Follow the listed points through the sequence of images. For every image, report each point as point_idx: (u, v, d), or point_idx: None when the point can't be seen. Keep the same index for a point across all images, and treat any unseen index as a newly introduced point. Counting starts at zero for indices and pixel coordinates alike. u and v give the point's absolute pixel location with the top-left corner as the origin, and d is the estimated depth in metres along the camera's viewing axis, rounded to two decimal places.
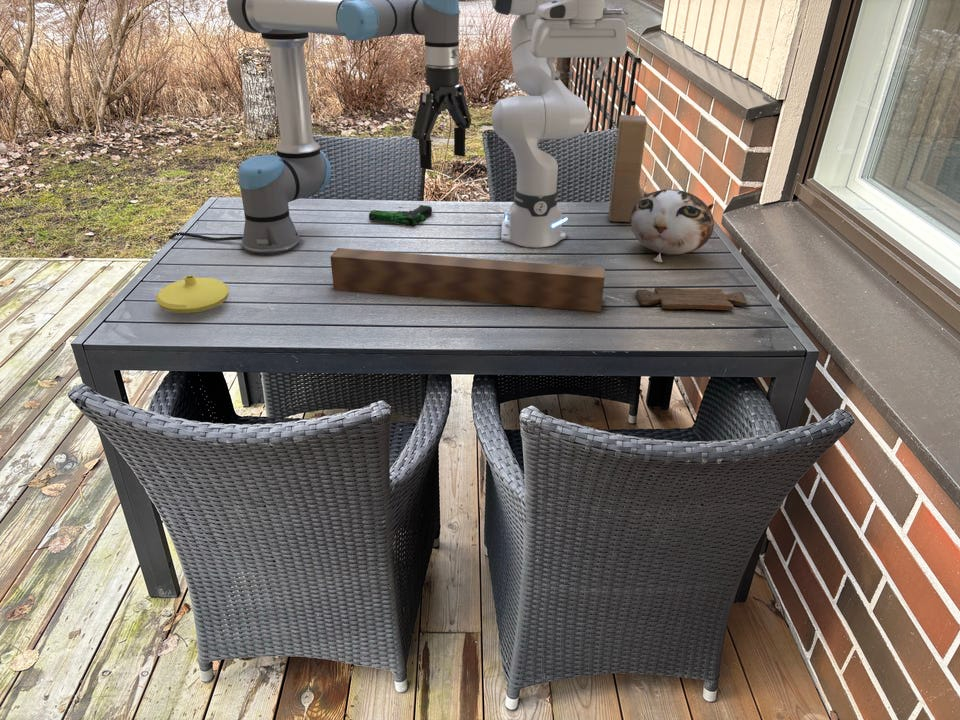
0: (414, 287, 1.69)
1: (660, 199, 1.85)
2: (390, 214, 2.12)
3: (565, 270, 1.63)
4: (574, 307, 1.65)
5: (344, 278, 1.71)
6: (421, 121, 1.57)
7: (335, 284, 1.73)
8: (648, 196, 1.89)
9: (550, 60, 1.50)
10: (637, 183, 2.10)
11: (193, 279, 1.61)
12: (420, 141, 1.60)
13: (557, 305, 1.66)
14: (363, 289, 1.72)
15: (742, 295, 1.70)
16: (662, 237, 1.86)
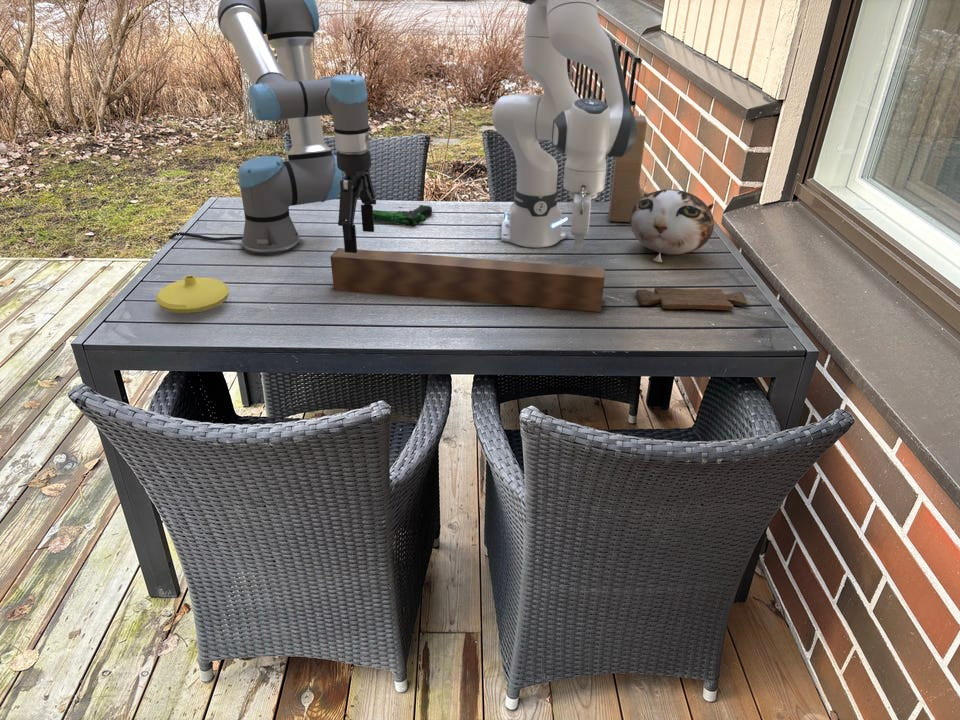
0: (414, 287, 1.69)
1: (660, 199, 1.85)
2: (390, 214, 2.12)
3: (565, 270, 1.63)
4: (574, 307, 1.65)
5: (344, 278, 1.71)
6: (346, 208, 1.56)
7: (335, 284, 1.73)
8: (648, 196, 1.89)
9: None
10: (637, 183, 2.10)
11: (193, 279, 1.61)
12: (345, 227, 1.58)
13: (557, 305, 1.66)
14: (363, 289, 1.72)
15: (742, 295, 1.70)
16: (662, 237, 1.86)
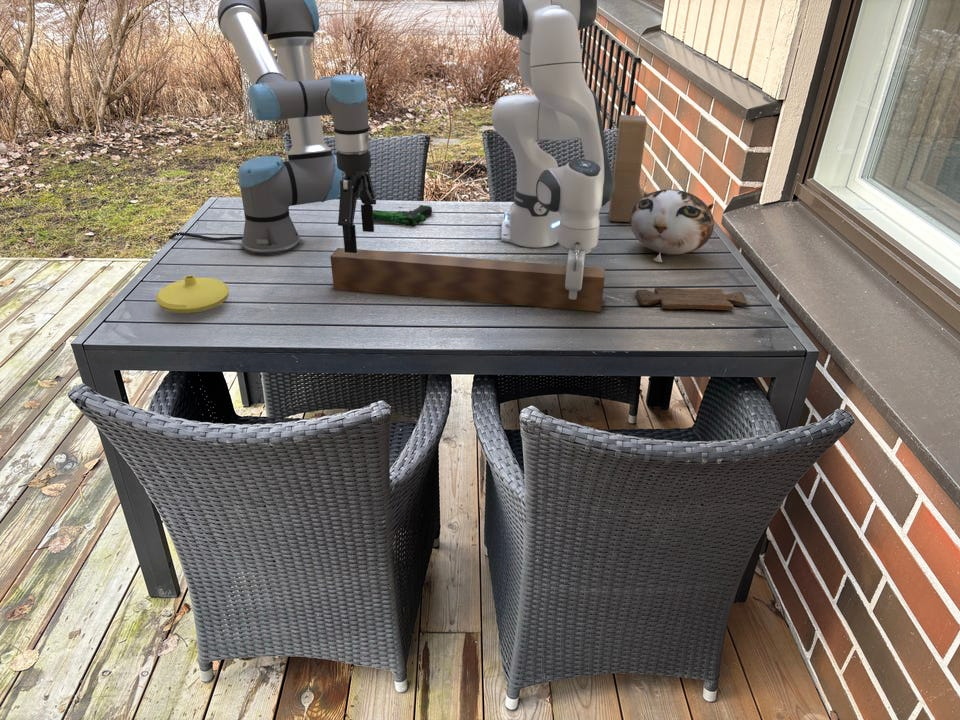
0: (414, 287, 1.69)
1: (660, 199, 1.85)
2: (390, 214, 2.12)
3: (565, 270, 1.63)
4: (574, 307, 1.65)
5: (344, 277, 1.71)
6: (346, 208, 1.56)
7: (335, 284, 1.72)
8: (648, 196, 1.89)
9: None
10: (637, 183, 2.10)
11: (193, 279, 1.61)
12: (345, 227, 1.58)
13: (557, 305, 1.66)
14: (363, 289, 1.72)
15: (742, 295, 1.70)
16: (662, 237, 1.86)
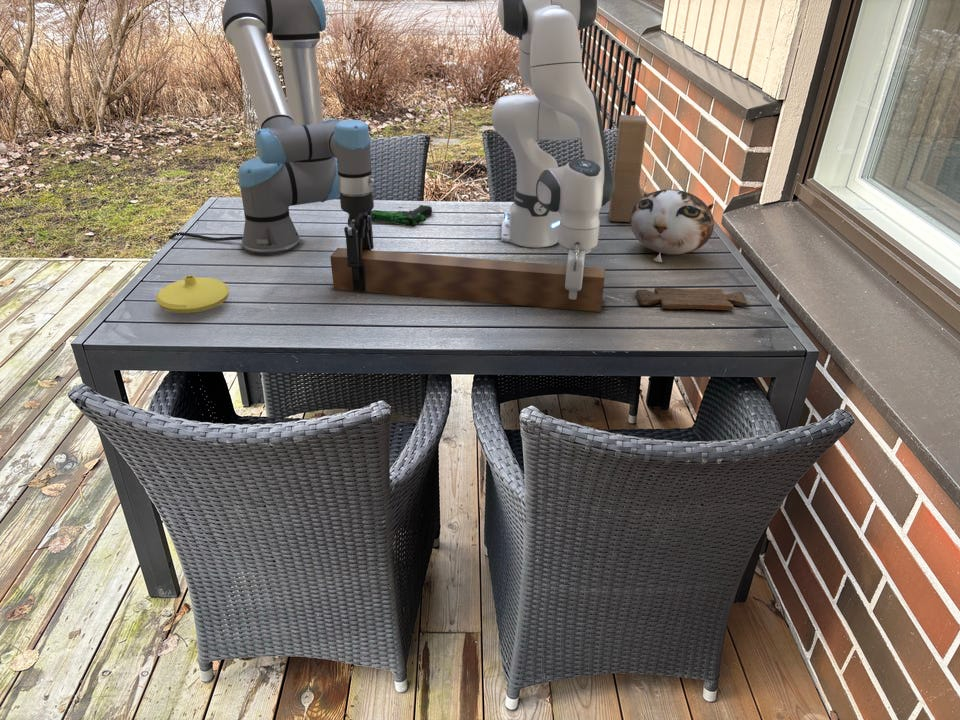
0: (414, 287, 1.69)
1: (660, 199, 1.85)
2: (390, 214, 2.12)
3: (565, 270, 1.63)
4: (574, 307, 1.65)
5: (344, 277, 1.71)
6: (353, 252, 1.63)
7: (335, 284, 1.72)
8: (648, 196, 1.89)
9: None
10: (637, 183, 2.10)
11: (193, 279, 1.61)
12: (354, 268, 1.67)
13: (557, 305, 1.66)
14: None
15: (742, 295, 1.70)
16: (662, 237, 1.86)
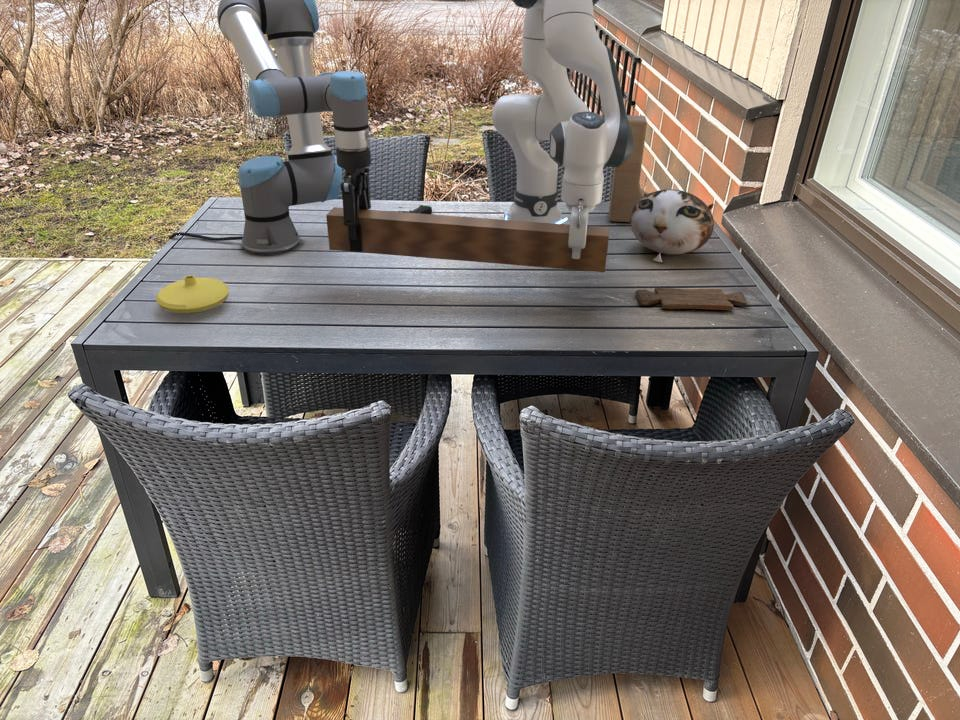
0: (413, 247, 1.65)
1: (660, 199, 1.85)
2: None
3: (568, 229, 1.59)
4: (578, 267, 1.61)
5: (340, 238, 1.66)
6: (350, 210, 1.58)
7: (331, 244, 1.68)
8: (648, 196, 1.89)
9: None
10: (637, 183, 2.10)
11: (193, 279, 1.61)
12: (351, 227, 1.62)
13: (559, 265, 1.61)
14: None
15: (742, 295, 1.70)
16: (662, 237, 1.86)
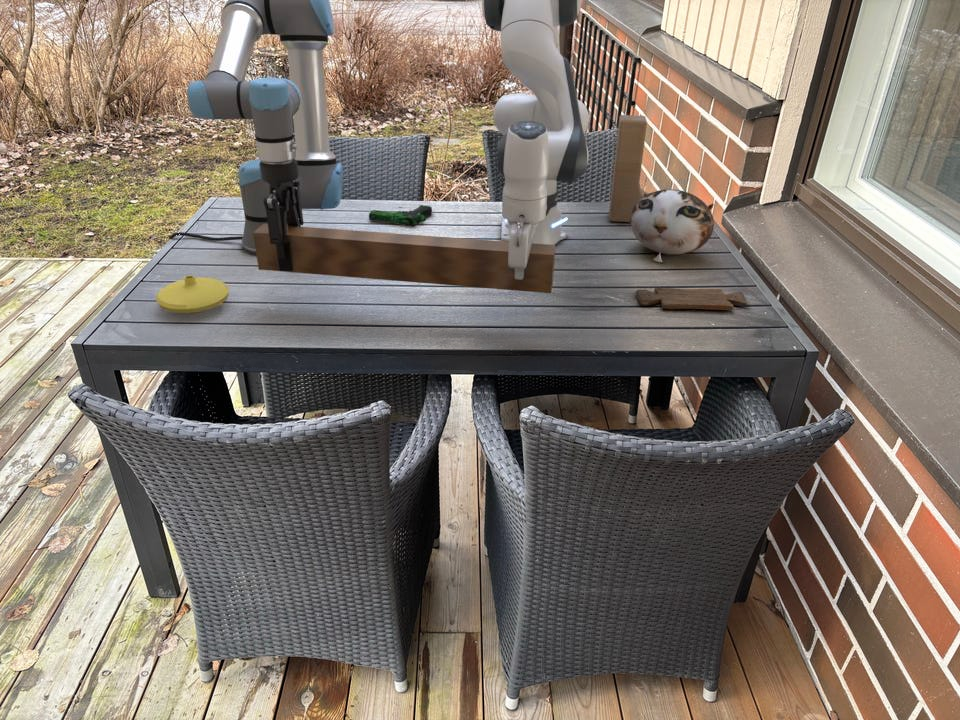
0: (346, 266, 1.53)
1: (660, 199, 1.85)
2: (390, 214, 2.12)
3: None
4: (522, 288, 1.49)
5: (269, 257, 1.55)
6: (275, 227, 1.47)
7: (260, 264, 1.56)
8: (648, 196, 1.89)
9: None
10: (637, 183, 2.10)
11: (193, 279, 1.61)
12: (278, 245, 1.51)
13: (502, 286, 1.49)
14: None
15: (742, 295, 1.70)
16: (662, 237, 1.86)
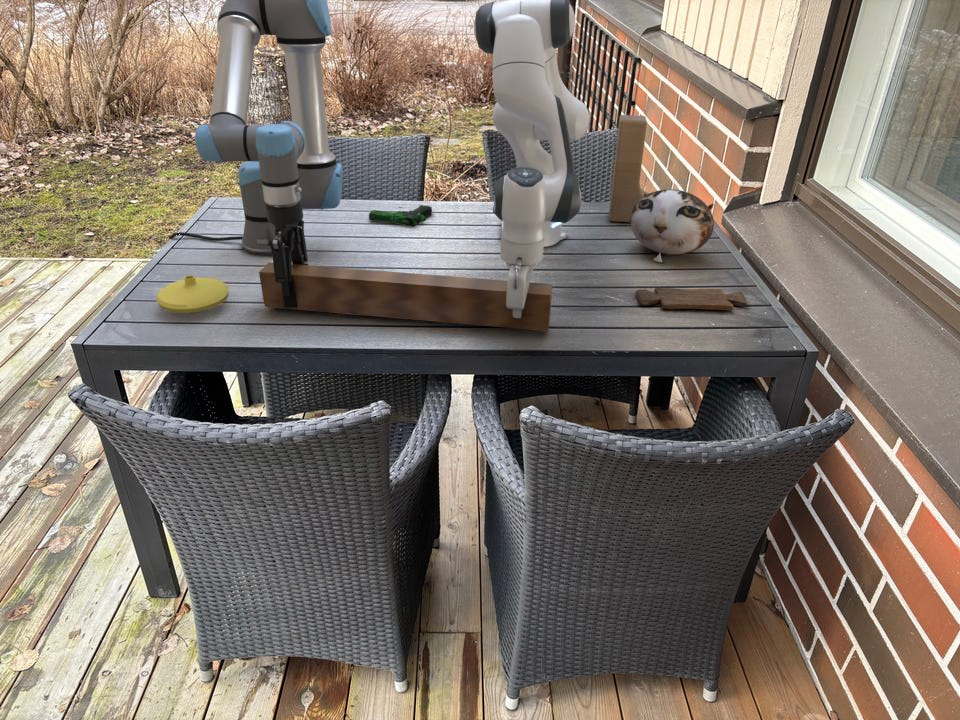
0: (350, 304, 1.58)
1: (660, 199, 1.85)
2: (390, 214, 2.12)
3: None
4: (520, 326, 1.54)
5: (275, 295, 1.60)
6: (280, 267, 1.52)
7: (265, 301, 1.61)
8: (648, 196, 1.89)
9: None
10: (637, 183, 2.10)
11: (193, 279, 1.61)
12: (283, 283, 1.55)
13: (501, 324, 1.54)
14: None
15: (742, 295, 1.70)
16: (662, 237, 1.86)
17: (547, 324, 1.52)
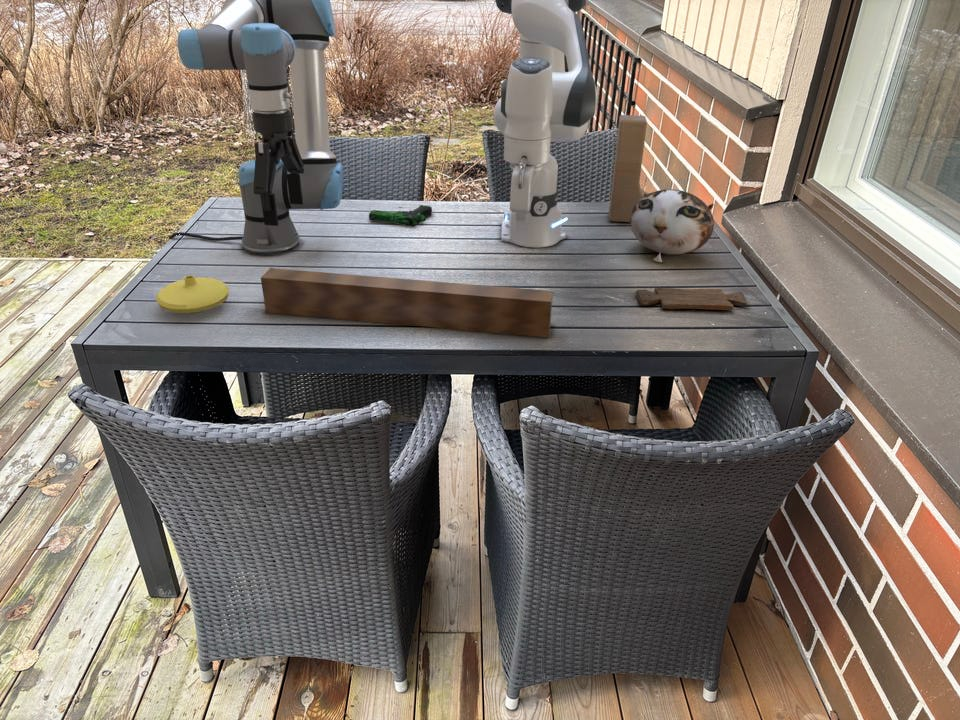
0: (351, 310, 1.58)
1: (660, 199, 1.85)
2: (390, 214, 2.12)
3: (509, 293, 1.53)
4: (520, 332, 1.54)
5: (276, 300, 1.60)
6: (262, 174, 1.39)
7: (267, 307, 1.61)
8: (648, 196, 1.89)
9: None
10: (637, 183, 2.10)
11: (193, 279, 1.61)
12: (263, 196, 1.42)
13: (502, 330, 1.55)
14: (297, 312, 1.61)
15: (742, 295, 1.70)
16: (662, 237, 1.86)
17: (547, 331, 1.53)
